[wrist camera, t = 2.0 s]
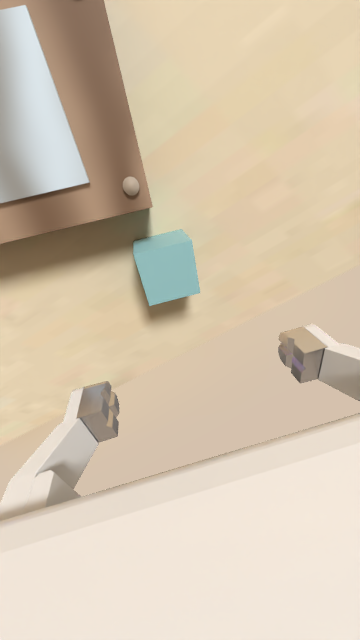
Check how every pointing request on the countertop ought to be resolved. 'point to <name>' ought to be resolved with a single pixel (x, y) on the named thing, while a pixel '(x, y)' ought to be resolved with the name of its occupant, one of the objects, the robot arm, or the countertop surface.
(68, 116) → the plinth
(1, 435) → the countertop surface
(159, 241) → the teal block
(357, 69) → the countertop surface
